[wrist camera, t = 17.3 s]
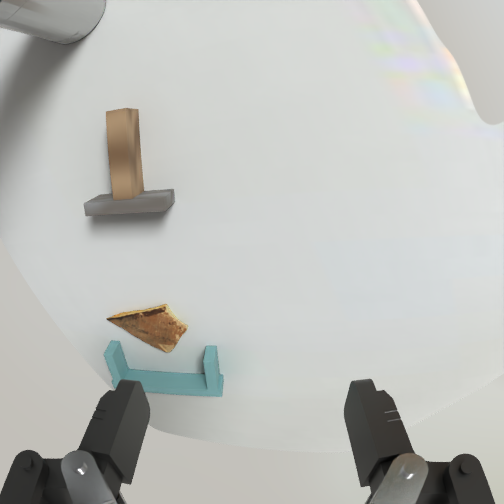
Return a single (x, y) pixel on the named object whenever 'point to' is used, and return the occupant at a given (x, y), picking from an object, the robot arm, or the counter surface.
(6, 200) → the counter surface
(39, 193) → the counter surface
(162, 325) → the shard
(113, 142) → the hammer
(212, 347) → the u-shaped bracket
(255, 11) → the counter surface
